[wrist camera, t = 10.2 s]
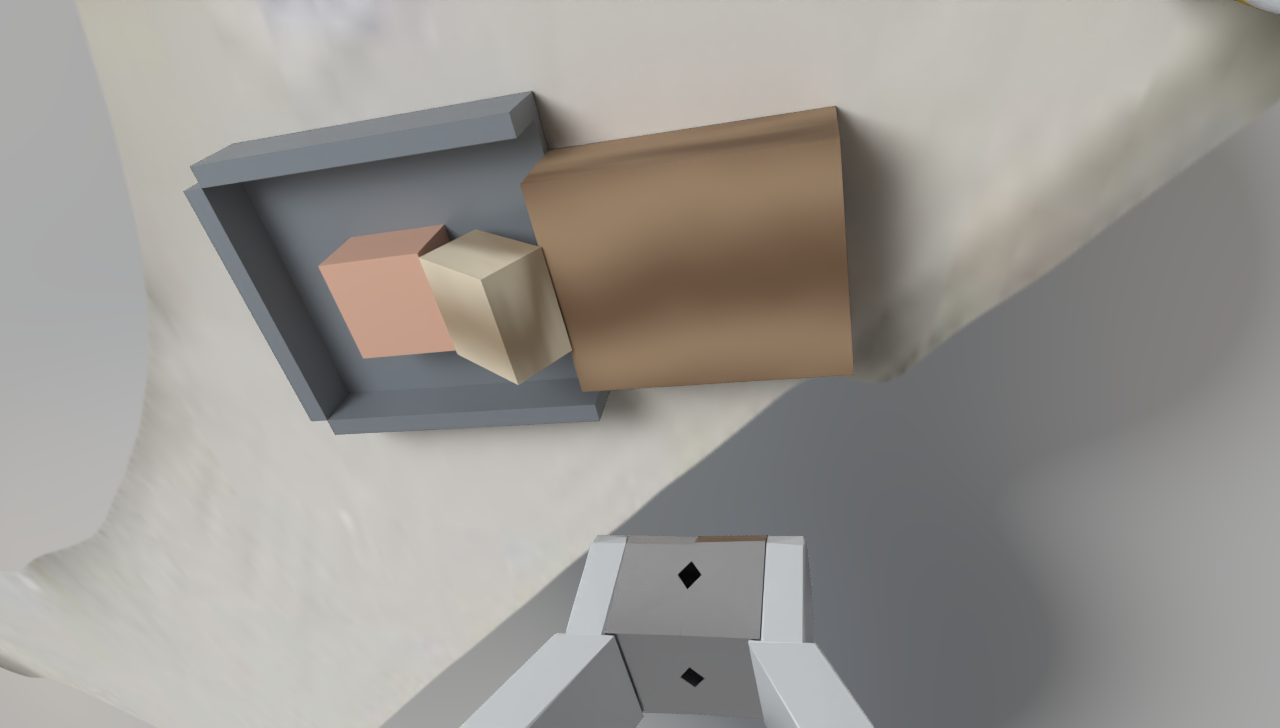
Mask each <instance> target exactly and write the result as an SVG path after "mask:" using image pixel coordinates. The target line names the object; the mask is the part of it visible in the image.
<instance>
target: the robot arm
mask: <svg viewBox="0 0 1280 728" xmlns="http://www.w3.org/2000/svg"><path fill="white" fill-rule="evenodd" d="M642 712H644V713H672V714H698V715H711V716H722V717H733V718H744V719H755V720H764V722H765V725H766V727H767V728H875V727H874V726H873V725H872V723H871V722H870V720H869V719H868V717H867V716H866V714H865V713H864V711H863V710H862V709H861V707H860V706H859V704H858V703H857V701H856V700H855V699H854V697H853V696H852V694H851V692H850V691H849V690H848V688H847V687H846V685H845V684H844V682H843V681H842V679H841V678H840V676H839V675H838V674H837V672H836V671H835V669H834V668H833V666H832V665H831V663H830V662H829V661H828V659H827V658H826V656H825V655H824V653H823V652H822V650H821V649H820V647H819V646H818V644H817V643H815V635H814V615H813V600H812V586H811V577H810V568H809V558H808V548H807V540H806V537H805V536H768V535H767V536H699V537H698V538H696V537H662V536H614V535H597V537H596V538H595V540H594V541H593V543H592V544H591V547H590V550H589V554H588V557H587V561H586V564H585V568H584V571H583V574H582V578H581V581H580V585H579V588H578V592H577V595H576V598H575V602H574V606H573V609H572V612H571V616H570V619H569V623H568V626H567V630H566V633H555V635H553V636H552V638H550V639H549V640H548V641H547V642H546V643H545V644H544V645H543V646H542V647H541V648H540V649H539V650H538V651H537V652H536V653H535V654H534V655H533V656H532V657H531V658H530V659H529V660H528V661H527V662H526V663H525V664H524V665H523V666H522V667H521V668H520V669H519V670H518V671H517V672H516V673H514V675H512V676H511V677H510V678H509V679H508V680H507V681H506V682H505V683H504V684H503V685H502V686H501V687H500V688H499V689H498V690H497V691H496V692H495V693H494V694H493V695H492V696H491V697H490V698H489V699H488V700H487V701H486V702H485V703H484V704H483V705H482V706H481V707H480V708H479V709H478V710H477V711H476V712H475V713H474V714H473V715H472V716H470V718H469V719H468V720H466V721H465V722H464V723H463V724H462V725H461V727H459V728H636V726H637V725H638V723H639V722H640V721H641V719H642V718H643V713H642Z"/></svg>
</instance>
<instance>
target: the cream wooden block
mask: <svg viewBox="0 0 1280 728" xmlns="http://www.w3.org/2000/svg"><path fill="white" fill-rule="evenodd" d="M419 260H420V262H421V265H422V267H423V270H424V272H425V275H426V277H427V280H428V282H429V285H430V287H431V290H432V292H433V295H434V297H435V300H436V302H437V305H438V307H439V310H440V312H441V314H442V317H443V319H444V322H445V324H446V327H447V329H448V332H449V334H450V337H451V339H452V342H453V344H454V347H455V349H456V352H457V354H458V355H460V356H462V357H464V358H466V359H468V360H470V361H472V362H474V363H476V364H478V365H480V366H482V367H484V368H486V369H487V370H489V371H491V372H493V373H495V374H497V375H499V376H501V377H503V378H505V379H507V380H509V381H511V382H513V383H515V384H517V385H520V384H521V383H523V382H524V381H526V380H527V379H529V378H530V377H532V376H533V375H535V374H536V373H538V372H540V371H541V370H543V369H544V368H546V367H547V366H549V365H550V364H552V363H553V362H555V361H556V360H558V359H560V358H561V357H563V356H564V355H566V354H567V353H569V352H570V351H572V348H571V345H570V342H569V338H568V335H567V332H566V328H565V325H564V322H563V318H562V315H561V312H560V309H559V305H558V302H557V299H556V295H555V292H554V289H553V285H552V282H551V279H550V276H549V272H548V269H547V266H546V262H545V259H544V256H543V252H542V249H541V247H539V246H535V245H531V244H528V243H524V242H520V241H517V240H513V239H509V238H506V237H502V236H498V235H495V234H491V233H487V232H484V231H480V230H476V229H475V230H473V231H471V232H469V233H467V234H465V235H463V236H461V237H459V238H457V239H455V240H453V241H451V242H449V243H447V244H445V245H443V246H441V247H439V248H437V249H435V250H433V251H431V252H429V253H427V254H425V255H423V256H421V257H419Z"/></svg>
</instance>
